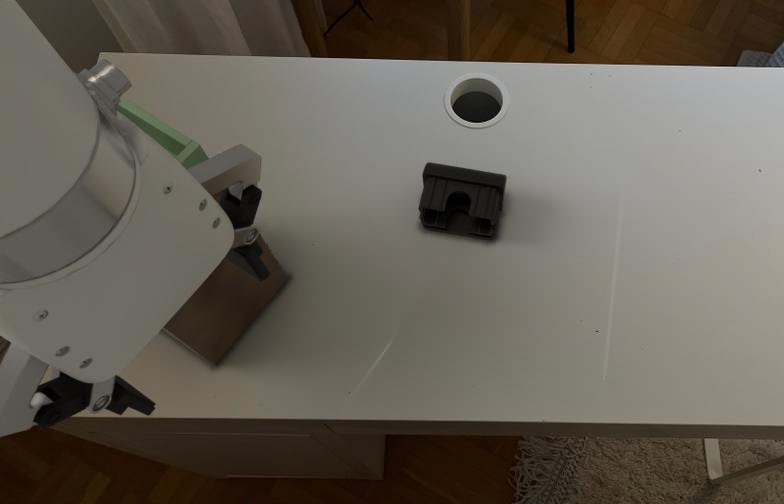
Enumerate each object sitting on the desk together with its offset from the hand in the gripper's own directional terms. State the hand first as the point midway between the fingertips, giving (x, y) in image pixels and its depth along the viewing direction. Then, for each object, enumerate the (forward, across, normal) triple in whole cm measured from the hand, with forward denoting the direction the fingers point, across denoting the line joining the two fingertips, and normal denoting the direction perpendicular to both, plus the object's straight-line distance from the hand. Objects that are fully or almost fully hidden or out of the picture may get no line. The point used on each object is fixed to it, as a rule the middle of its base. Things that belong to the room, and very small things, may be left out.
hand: (194, 328), depth 39 cm
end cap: (+36, -32, -2) cm, 49 cm away
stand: (+36, -6, -21) cm, 42 cm away
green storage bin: (+12, -6, -21) cm, 25 cm away
